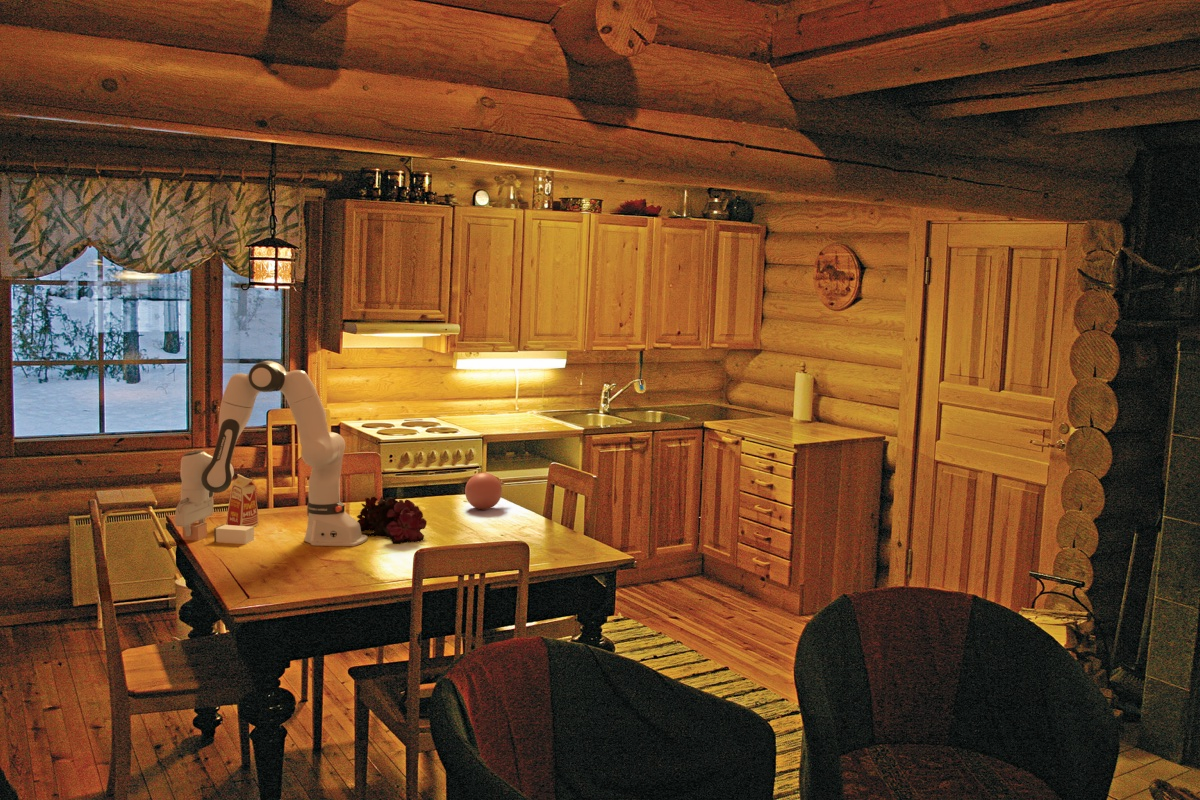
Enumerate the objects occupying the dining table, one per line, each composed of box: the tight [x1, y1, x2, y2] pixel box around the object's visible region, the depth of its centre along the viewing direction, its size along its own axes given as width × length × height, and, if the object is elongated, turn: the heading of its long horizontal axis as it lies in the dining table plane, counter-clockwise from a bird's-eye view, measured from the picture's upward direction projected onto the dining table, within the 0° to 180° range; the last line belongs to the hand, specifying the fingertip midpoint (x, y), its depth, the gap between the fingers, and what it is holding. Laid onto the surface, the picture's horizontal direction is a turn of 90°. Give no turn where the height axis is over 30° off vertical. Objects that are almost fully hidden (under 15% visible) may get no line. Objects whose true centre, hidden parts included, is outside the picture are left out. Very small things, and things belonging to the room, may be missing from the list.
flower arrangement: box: [356, 496, 428, 545], centre depth 400 cm, size 31×20×15 cm, turn 53°
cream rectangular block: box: [213, 523, 255, 545], centre depth 383 cm, size 12×6×5 cm, turn 81°
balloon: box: [464, 472, 505, 511], centre depth 450 cm, size 15×20×15 cm
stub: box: [181, 522, 208, 542], centre depth 385 cm, size 6×6×5 cm
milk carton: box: [225, 473, 260, 528], centre depth 407 cm, size 9×9×20 cm
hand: (194, 533), depth 386 cm, fingers closed on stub, 6 cm apart
